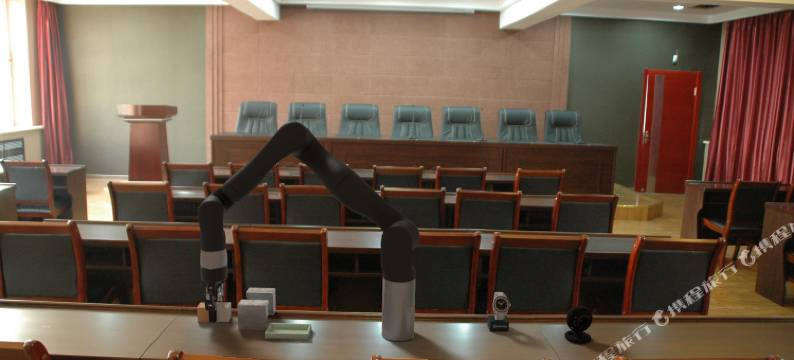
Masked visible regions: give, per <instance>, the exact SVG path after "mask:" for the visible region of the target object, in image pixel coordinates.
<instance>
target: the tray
mask: <svg viewBox="0 0 794 360" xmlns="http://www.w3.org/2000/svg"><path fill="white" fill-rule="evenodd" d="M311 333H312V323H295V322H294V323H293V322H292V323H290V322H289V323H288V322H285V323H284V322H269V323H268V327H267V329H266V330H265V332H264V339H265V340H280V341H281V340H282V341H283V340H284V341H285V340H286V341H289V340H290V341H309V338H310V335H311Z"/></svg>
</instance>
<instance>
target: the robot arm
mask: <svg viewBox="0 0 794 360" xmlns="http://www.w3.org/2000/svg"><path fill="white" fill-rule="evenodd" d="M290 155H291V156H293V157H294V158H296V159H297V160H299V161H300V162H301V163H302V164H303V165H305V166H306V167H308V168H309V169H310V170H311V171H312V172H313V173H314V175H315V176H316V177H317V178H318V179H319V181H320V182H321V184H322V185H323V186H324V188H325V189H326V190H327V191H328V192H329V193H330V194H331V195H332V196H333V197H334V198H335V199H336V200H337V201H338V202H339V203H340V204H341V205H342V206H344V207H345V208H346V209H348V210H350V211H352V212H353V213H356V214H357V215H360V216H362V217H364V218H365V219H368V220H370V221H371V222H372V223H374V225H376V226H377V228H379V229H380V230H381V231H382V233H381V237H380V245H379V246H380V250H379V251H380V268H381V271H382V295H381V296H382V297H381V298H382V299H381V300H382V301H381V336H382V337H383V338H385V339H386V340H388V341H392V342H393V341H394V342H403V341H404V342H405V341H408V340H414V339H415V318H416V317H415V315H416V308H415V307H416V305H415V304H416V303H415V297H416V295H415V294H416V268H415V267H414V266H413V250H414V249H415V248H416V247H417V246H418V245H419V243H420V240H421V234H420V231H419V228H418V226H417V225H416V224H415V223H414V222H413V221H412V220H410V219H409V218H408V217H406V216H405V215H404V214H402V213H401V212H399V211H398V210H397V209H396V208H394V206H392V205H390V204H389V203H388V202H387V201H386V200H385V199H384V198H383V197H382V196H381V195H380V194H379V193H378V192H377V191H376V190H375V189H374V188H373V187H371V186H370V185H369V184H368V183H367V182H366V180H364V179H363V178H362V177H361V176H360V175H358V174H357V172H356V171H354V170H353V169H352V168H350V167H349V165H347V164H346V163H344V162H343V161H342V160H341V159H339V158H337V157H336V156H335V155H333V154H332V153H331V152H329V151H328V150H327V149H326V148H325V147H324V145H323V144H322V143H321V142H320V141H319V140H318V139H317V138H316V137H315V135H314V134H313V133H312V131H311V130H310V129H309V128H308V127H307V126H305V125H304V124H302V123H301V122H298V121H296V120H291V121H287V122H285V123H283V124H282V125H281V126H280V127H279V128H278V129H277V130H276V132H275V133H273V135H272V136H271V137H270V138H269V140H268V141H267V142H266V143H265V145H264V146H262V148H261V149H260V150H259V151H258V152H257V153H256V154H255V155H254V156H253V157H252V158H251V159H250V160H249V161H248V162H246V164H244V166H242V167H240V169H239V170H237V172H235V173H234V174H233V175H231V176H230V177H229V178H228V179H227V180H226V181H225V182H224V183H223V184H222V185H221V186H220V187H218V188H217V189H216V190H214V191H213V192H212V193H210V194H209V195H208V196H207V197H206V198H204V199H203V200H202V202H201V203H200V205H199V206H198V212H197V213H198V214H197V218H198V225H199V226H198V227H199V231H200V258H199V260H200V279H201V281H203V282H204V283H206V285H207V286H205V292H204V293H203V303H205V310H209V322H208V323H217V322H216V321H217V302H223V300H224V298H225V284H226V279H228V253H227V240H226V236H227V235H226V232H225V230H224V215H225V214H226V213H227V212H228V211H229V210H230V209H231V208H232V207H233V206H234V205H236V204H237V203H239V202H241V201H242V200H244V199H245V198H246V197H247V196H248V195H250V193H252V192H253V191H254V190H255V189H256V188H258V186H259V185H260V184H261V183H262V182H263V180H265V178H266V176H267V175H268V174H269V173H270V171H272V169H273V168H274V167H275V166H276V165H277V164H278V163H280V162H281V161H282V160H284V159H285V158H287V157H288V156H290ZM210 305H212V306H210Z"/></svg>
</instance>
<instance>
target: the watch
mask: <svg viewBox="0 0 794 360" xmlns="http://www.w3.org/2000/svg"><path fill="white" fill-rule="evenodd" d="M510 307H512V305H511V303H510V301H509V299H508V297H507V295H506V294H505V293H504V292H502V291H495V292H494V295H493V301H492V310H493V315H487V324H486V325H487V328H488V331H489V332H509V330H510V321H509V318H508V316H507V315H508V311H509V309H510Z"/></svg>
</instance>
